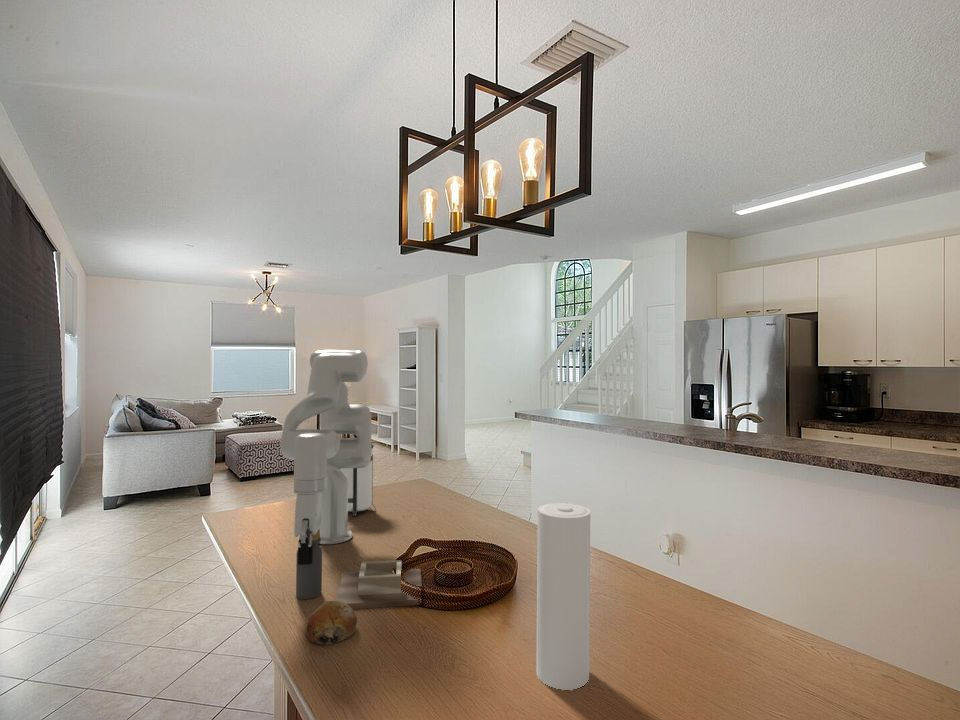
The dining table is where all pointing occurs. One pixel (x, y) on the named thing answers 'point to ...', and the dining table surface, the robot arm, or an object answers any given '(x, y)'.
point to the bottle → (310, 573)
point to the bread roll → (331, 623)
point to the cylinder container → (563, 595)
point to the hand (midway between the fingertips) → (309, 556)
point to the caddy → (377, 585)
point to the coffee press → (360, 486)
